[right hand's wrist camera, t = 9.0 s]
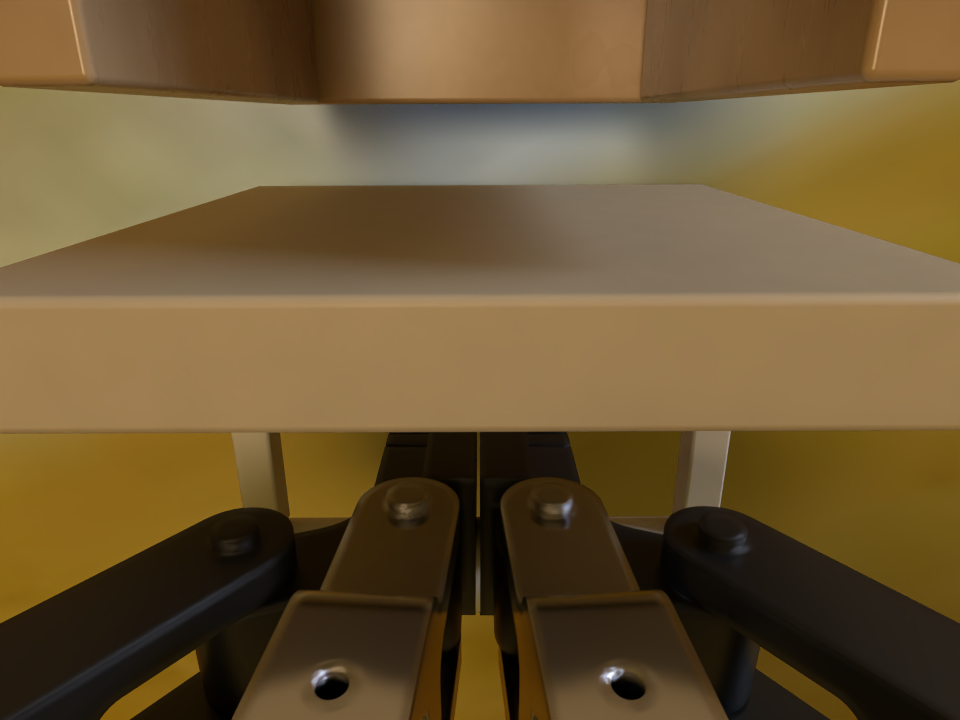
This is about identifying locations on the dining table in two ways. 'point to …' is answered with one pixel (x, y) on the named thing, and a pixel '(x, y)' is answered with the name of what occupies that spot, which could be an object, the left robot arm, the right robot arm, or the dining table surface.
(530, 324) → the drawer
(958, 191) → the dining table surface
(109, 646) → the right robot arm
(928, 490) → the dining table surface
